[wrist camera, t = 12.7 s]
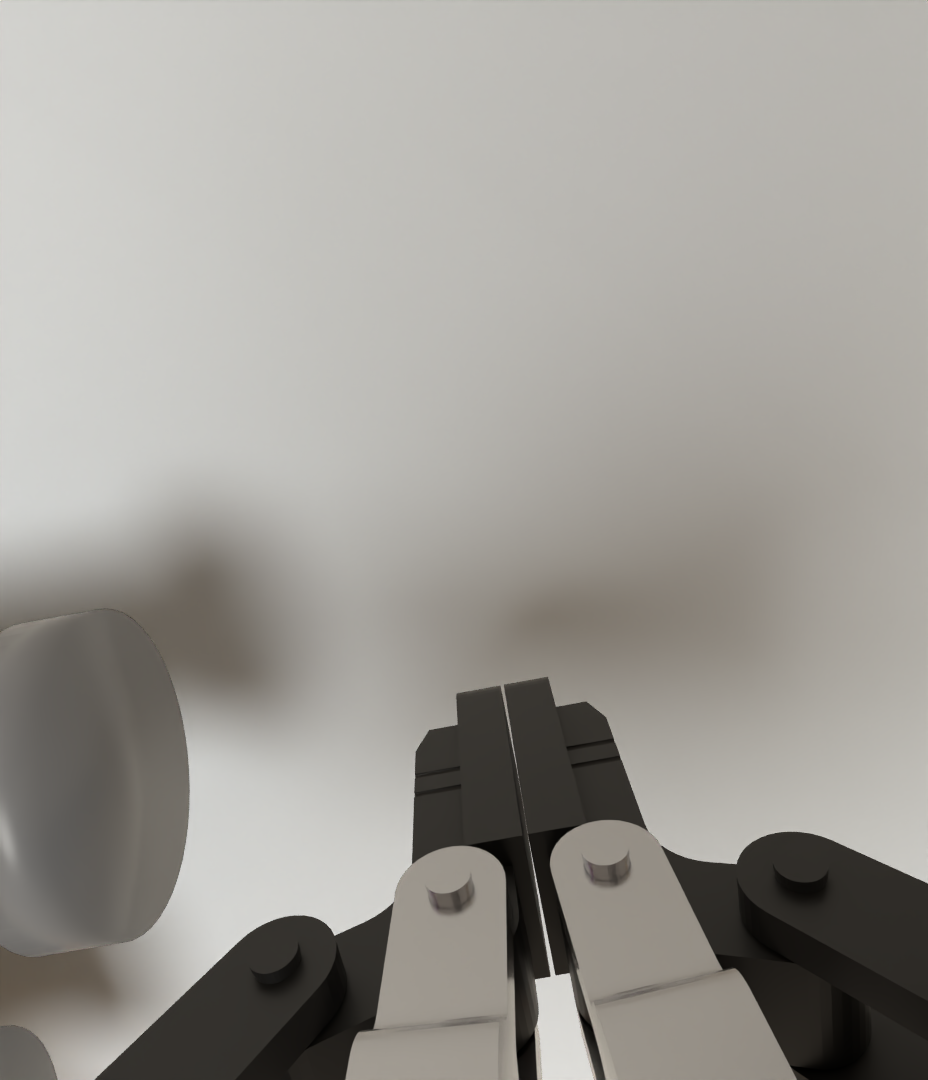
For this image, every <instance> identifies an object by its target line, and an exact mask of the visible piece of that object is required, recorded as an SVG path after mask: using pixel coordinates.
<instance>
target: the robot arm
mask: <svg viewBox="0 0 928 1080" xmlns="http://www.w3.org/2000/svg"><path fill="white" fill-rule="evenodd" d="M504 688H505V695H506V701H507V707H508V713H509V719H510V726H511V732H512V738H513V744H514V750H515V757H516V763H517V768H516V763H515V758H514V753H513V748H512V743H511V737H510V732H509V727H508V722H507V717H506V712H505V707H504V702H503V696H502V692H501V687H500V686H496V687H490V688H485V689H479V690H474V691H468V692H463V693H457V695H456V699H457V718H458V725H455V726H449V727H444V728H438V729H433V730H429V731H428V733H427V735H426V736H425V738H424V739H423V741H422V743H421V744H420V746H419V747H418V749H417V751H416V760H415V777H416V778H415V791H414V793H415V797H414V822H413V853H412V865H411V866H410V867H409V868H408V869H407V870H406V871H405V873H404V874H403V875H402V877H401V878H400V880H399V882H398V885H397V888H396V892H395V897H394V902H393V903H392V904H391V905H390V906H389V907H388V908H387V909H385V910H384V911H383V912H381V913H380V914H378V915H377V916H375V917H374V918H372V919H370V920H368V921H366V922H364V923H362V924H360V925H358V926H355V927H353V928H351V929H349V930H346V931H344V932H342V933H340V934H338V935H335V936H334V934H333V932H332V930H331V929H330V928H329V927H328V926H327V925H326V924H325V923H324V922H322V921H321V920H319V919H316V918H313V917H309V916H288V917H283V918H279V919H276V920H273V921H271V922H268V923H266V924H264V925H262V926H260V927H258V928H256V929H255V930H253V931H252V932H250V933H249V934H248V935H246V936H245V937H244V938H243V939H242V940H241V941H239V942H238V943H237V944H236V945H235V946H234V947H233V948H232V949H231V950H230V951H229V952H228V953H227V954H226V955H225V956H224V957H223V958H222V959H221V960H219V961H218V962H217V963H216V964H215V965H214V966H213V967H212V968H211V969H210V970H209V971H208V972H207V973H206V974H205V975H204V976H203V977H202V978H201V979H200V980H199V981H197V982H196V983H195V984H194V985H193V986H192V987H191V988H190V989H189V990H188V991H187V992H186V993H185V994H184V995H183V996H182V997H181V998H180V999H179V1000H178V1001H177V1002H175V1003H174V1004H173V1005H172V1006H171V1007H170V1008H169V1009H168V1010H167V1011H166V1012H165V1013H164V1014H163V1015H162V1016H161V1017H160V1018H159V1019H158V1020H157V1021H156V1022H155V1023H154V1024H152V1025H151V1026H150V1027H149V1028H148V1029H147V1030H146V1031H145V1032H144V1033H143V1034H142V1035H141V1036H140V1037H139V1038H138V1039H137V1040H136V1041H135V1042H134V1043H133V1044H132V1045H130V1046H129V1047H128V1048H127V1049H126V1050H125V1051H124V1052H123V1053H122V1054H121V1055H120V1056H119V1057H118V1058H117V1059H116V1060H115V1061H114V1062H113V1063H112V1064H111V1065H110V1066H108V1067H107V1068H106V1069H105V1070H104V1071H103V1072H102V1073H101V1074H100V1075H99V1076H98V1077H97V1078H96V1079H95V1080H542V1069H541V1050H540V1037H539V1031H538V1026H537V1021H538V1014H539V1011H538V1000H537V993H536V985H535V979H539V978H545V977H551V976H550V970H549V963H548V957H547V951H546V945H545V938H544V932H543V926H542V920H541V914H540V907H539V901H538V895H537V889H536V882H535V876H534V870H533V864H532V857H533V862H534V868H535V873H536V878H537V883H538V888H539V893H540V898H541V903H542V908H543V914H544V919H545V924H546V929H547V934H548V939H549V944H550V949H551V954H552V960H553V965H554V970H555V975H560V974H566V973H570V976H571V981H572V987H573V992H574V997H575V1001H576V1007H577V1012H578V1018H579V1023H580V1028H581V1034H582V1037H583V1041H584V1045H585V1048H586V1052H587V1056H588V1059H589V1063H590V1067H591V1070H592V1074H593V1078H594V1080H928V883H925V882H923V881H921V880H919V879H916V878H914V877H912V876H910V875H908V874H905V873H903V872H901V871H899V870H896V869H894V868H892V867H890V866H887V865H885V864H883V863H881V862H879V861H876V860H874V859H872V858H870V857H867V856H865V855H863V854H861V853H858V852H856V851H854V850H852V849H850V848H847V847H845V846H843V845H841V844H838V843H836V842H834V841H832V840H829V839H827V838H824V837H821V836H817V835H814V834H809V833H802V832H781V833H775V834H770V835H767V836H764V837H761V838H759V839H757V840H755V841H754V842H752V843H751V844H750V845H748V846H747V847H746V848H745V849H744V850H743V852H742V853H741V855H740V857H739V859H738V861H737V864H725V863H712V862H703V861H697V860H692V859H688V858H685V857H682V856H680V855H677V854H675V853H673V852H671V851H669V850H667V849H666V848H664V847H663V846H661V845H660V844H659V842H658V840H657V839H656V838H655V837H654V836H653V835H652V834H651V833H649V832H648V830H647V828H646V826H645V824H644V821H643V818H642V815H641V813H640V810H639V807H638V804H637V802H636V799H635V796H634V793H633V791H632V788H631V785H630V782H629V780H628V777H627V774H626V771H625V769H624V766H623V763H622V760H621V759H620V755H619V752H618V749H617V747H616V744H615V743H614V738H613V736H612V733H611V730H610V727H609V725H608V722H607V719H606V717H605V716H604V715H602V714H601V713H600V712H599V711H597V710H596V709H595V708H594V707H592V706H591V705H590V704H589V703H587V702H581V703H576V704H570V705H565V706H559V707H556V706H555V702H554V699H553V695H552V691H551V687H550V683H549V680H548V677H544V678H539V679H533V680H528V681H522V682H517V683H511V684H506V685H504ZM517 769H518V774H517ZM518 775H519V779H518ZM519 782H520V784H519ZM520 788H521V790H520ZM521 794H522V796H521ZM522 800H523V801H522ZM523 806H524V808H523ZM524 813H525V814H524ZM525 819H526V820H525ZM526 825H527V826H526ZM527 831H528V832H527ZM528 837H529V839H528ZM529 842H530V845H529ZM530 847H531V851H530ZM531 852H532V857H531Z"/></svg>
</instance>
